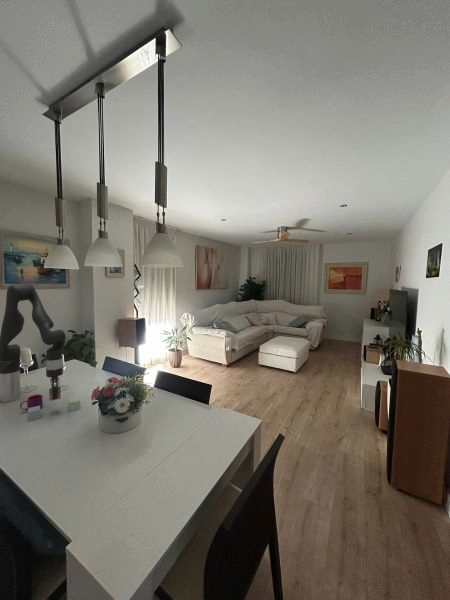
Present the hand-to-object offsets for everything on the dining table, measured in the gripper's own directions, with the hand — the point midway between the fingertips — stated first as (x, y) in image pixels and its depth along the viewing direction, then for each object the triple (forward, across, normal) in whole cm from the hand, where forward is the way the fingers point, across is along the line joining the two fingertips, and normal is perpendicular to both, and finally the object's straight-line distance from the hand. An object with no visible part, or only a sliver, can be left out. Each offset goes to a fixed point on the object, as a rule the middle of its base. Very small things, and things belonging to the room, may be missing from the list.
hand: (54, 396), depth 131 cm
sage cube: (+9, 0, +9) cm, 13 cm away
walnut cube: (+1, 0, 0) cm, 1 cm away
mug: (+9, -11, -11) cm, 18 cm away
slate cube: (+9, 0, -9) cm, 13 cm away
